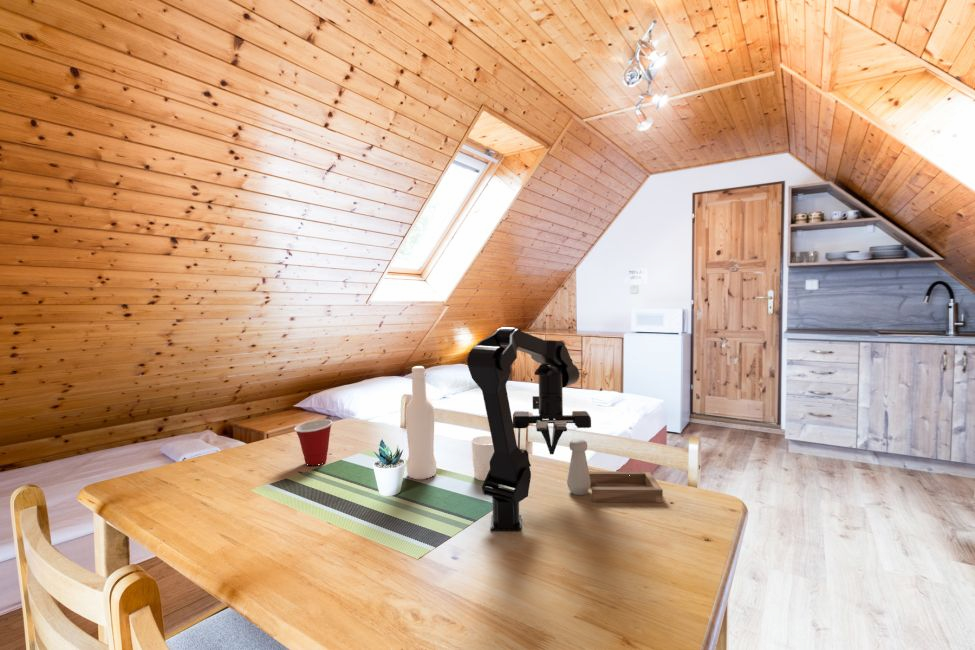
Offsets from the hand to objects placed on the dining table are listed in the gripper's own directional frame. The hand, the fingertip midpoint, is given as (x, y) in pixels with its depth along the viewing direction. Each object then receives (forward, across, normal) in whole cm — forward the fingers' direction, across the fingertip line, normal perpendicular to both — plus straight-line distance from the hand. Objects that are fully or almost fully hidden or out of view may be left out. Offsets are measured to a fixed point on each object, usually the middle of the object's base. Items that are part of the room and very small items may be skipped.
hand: (551, 453), depth 120 cm
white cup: (+10, +17, -10) cm, 22 cm away
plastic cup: (+10, +69, -20) cm, 72 cm away
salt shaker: (+10, -6, 0) cm, 12 cm away
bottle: (+10, +35, -11) cm, 38 cm away
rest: (+10, -16, 0) cm, 19 cm away
